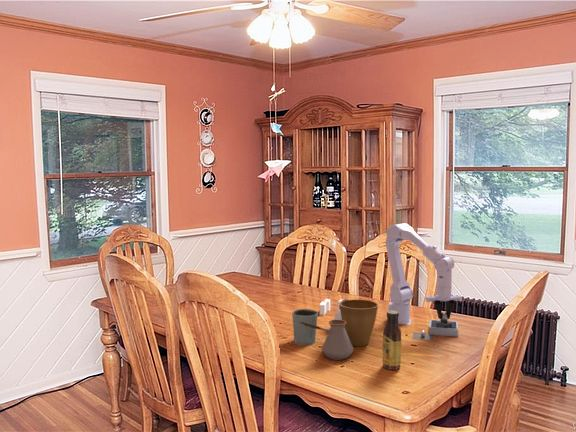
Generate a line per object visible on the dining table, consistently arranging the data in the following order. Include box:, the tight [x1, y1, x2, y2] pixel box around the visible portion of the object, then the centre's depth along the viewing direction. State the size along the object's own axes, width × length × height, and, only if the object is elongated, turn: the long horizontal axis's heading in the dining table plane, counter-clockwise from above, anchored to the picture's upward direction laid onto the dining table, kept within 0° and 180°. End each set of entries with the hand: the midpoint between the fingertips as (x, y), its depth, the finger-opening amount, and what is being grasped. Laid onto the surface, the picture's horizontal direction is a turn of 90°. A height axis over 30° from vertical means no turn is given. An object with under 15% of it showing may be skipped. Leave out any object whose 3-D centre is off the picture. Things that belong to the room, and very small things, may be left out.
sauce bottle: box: [382, 310, 402, 371], centre depth 181 cm, size 7×6×20 cm
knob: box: [436, 311, 453, 329], centre depth 219 cm, size 5×5×7 cm
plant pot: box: [340, 299, 379, 347], centre depth 207 cm, size 15×15×16 cm
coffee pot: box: [298, 319, 354, 361], centre depth 191 cm, size 21×12×15 cm, turn 114°
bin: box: [428, 319, 459, 337], centre depth 219 cm, size 11×11×4 cm
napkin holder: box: [319, 298, 331, 316], centre depth 253 cm, size 15×11×6 cm
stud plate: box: [411, 330, 434, 341], centre depth 213 cm, size 8×8×3 cm
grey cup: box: [291, 308, 319, 346], centre depth 210 cm, size 10×10×12 cm
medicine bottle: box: [334, 298, 348, 320], centre depth 228 cm, size 7×7×12 cm
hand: (443, 318), depth 219 cm, fingers closed on knob, 3 cm apart
